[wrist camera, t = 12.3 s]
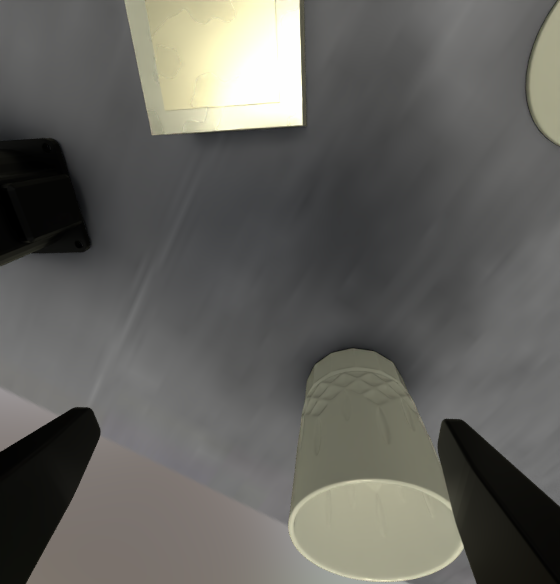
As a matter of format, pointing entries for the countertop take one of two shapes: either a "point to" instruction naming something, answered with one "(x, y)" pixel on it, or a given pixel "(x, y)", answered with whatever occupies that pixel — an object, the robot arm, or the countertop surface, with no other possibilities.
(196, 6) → the spice tin
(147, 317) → the countertop surface
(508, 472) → the robot arm
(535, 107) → the coaster
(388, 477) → the white cup
